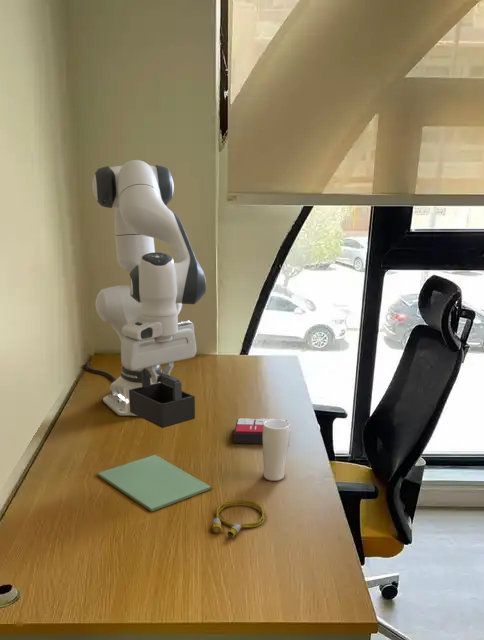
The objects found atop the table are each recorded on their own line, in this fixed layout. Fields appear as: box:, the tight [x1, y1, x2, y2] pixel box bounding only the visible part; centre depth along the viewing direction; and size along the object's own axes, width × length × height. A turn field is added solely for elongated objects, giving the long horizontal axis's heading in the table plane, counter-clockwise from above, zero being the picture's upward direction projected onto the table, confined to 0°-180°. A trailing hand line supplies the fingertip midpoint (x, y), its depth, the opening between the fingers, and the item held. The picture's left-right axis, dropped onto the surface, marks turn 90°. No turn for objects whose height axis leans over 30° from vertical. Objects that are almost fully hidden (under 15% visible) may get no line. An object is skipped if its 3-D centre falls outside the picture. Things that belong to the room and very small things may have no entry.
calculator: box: [233, 417, 288, 444], centre depth 201 cm, size 11×4×15 cm
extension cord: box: [211, 499, 265, 538], centre depth 159 cm, size 12×16×2 cm
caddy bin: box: [129, 368, 196, 429], centre depth 171 cm, size 14×10×11 cm
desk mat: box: [97, 454, 212, 513], centre depth 174 cm, size 24×18×1 cm
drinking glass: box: [262, 418, 291, 482], centre depth 176 cm, size 7×7×15 cm
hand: (160, 380), depth 169 cm, fingers closed on caddy bin
